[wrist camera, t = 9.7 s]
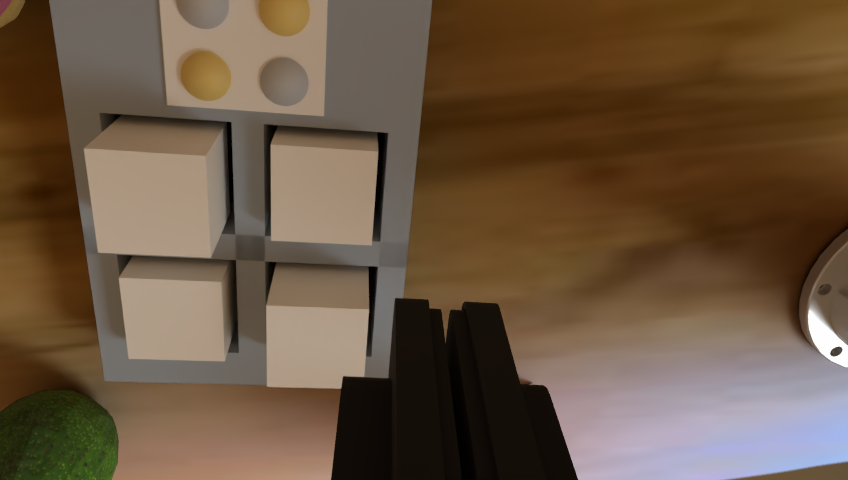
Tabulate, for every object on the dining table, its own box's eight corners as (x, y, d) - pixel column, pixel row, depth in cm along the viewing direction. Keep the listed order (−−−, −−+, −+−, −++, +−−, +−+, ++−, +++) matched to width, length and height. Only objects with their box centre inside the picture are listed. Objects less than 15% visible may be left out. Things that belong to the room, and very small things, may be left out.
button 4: (368, 260, 37) (369, 309, 33) (363, 334, 39) (363, 389, 35) (277, 256, 37) (266, 305, 32) (278, 331, 39) (267, 386, 34)
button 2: (237, 238, 38) (221, 282, 34) (240, 311, 40) (224, 361, 36) (147, 233, 38) (118, 277, 33) (154, 307, 40) (128, 358, 35)
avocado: (136, 458, 46) (67, 628, 35) (13, 446, 44) (-98, 618, 34) (141, 366, 42) (66, 523, 31) (8, 350, 41) (-118, 507, 30)
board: (426, -31, 33) (435, -22, 29) (391, 348, 43) (394, 393, 39) (77, -65, 31) (35, -61, 27) (127, 340, 41) (102, 386, 37)
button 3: (376, 120, 36) (378, 151, 31) (370, 205, 38) (371, 245, 33) (282, 114, 35) (270, 144, 31) (282, 200, 37) (271, 240, 33)
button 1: (226, 122, 33) (205, 156, 29) (230, 213, 35) (210, 257, 31) (121, 114, 32) (83, 148, 28) (131, 207, 35) (97, 252, 30)
